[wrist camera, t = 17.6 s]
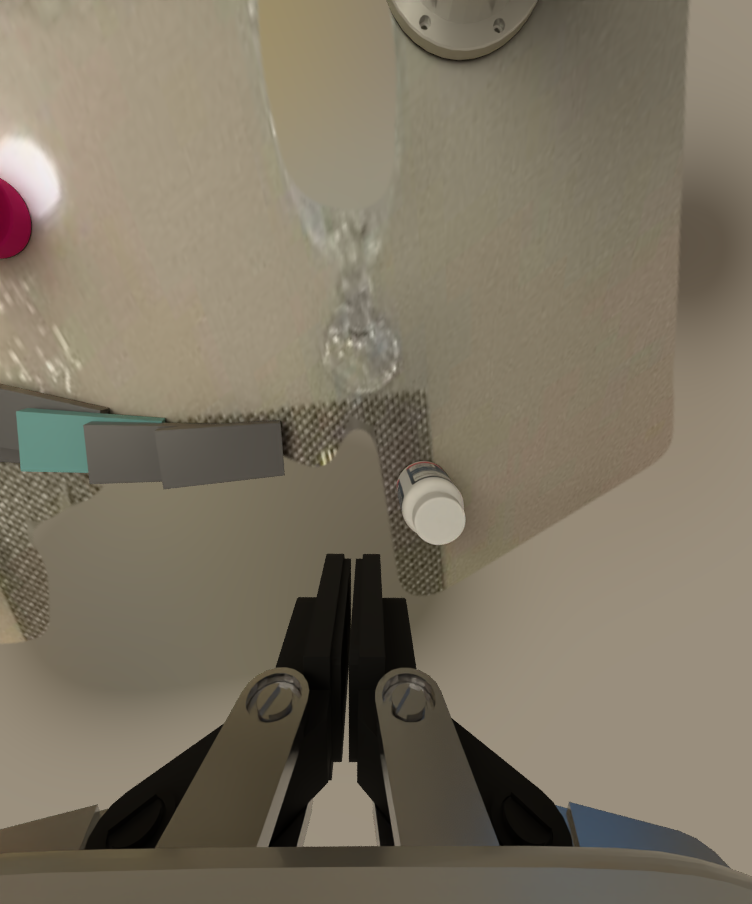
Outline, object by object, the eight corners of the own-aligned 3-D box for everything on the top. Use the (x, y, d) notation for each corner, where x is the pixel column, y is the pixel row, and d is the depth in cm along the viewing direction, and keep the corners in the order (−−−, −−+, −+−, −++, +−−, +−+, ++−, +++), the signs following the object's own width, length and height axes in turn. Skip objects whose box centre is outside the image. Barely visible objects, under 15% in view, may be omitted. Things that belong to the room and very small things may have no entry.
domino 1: (100, 410, 31) (-46, 378, 28) (91, 463, 32) (-52, 437, 29) (109, 408, 33) (-28, 377, 30) (100, 458, 34) (-34, 433, 31)
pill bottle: (427, 518, 36) (446, 565, 28) (386, 492, 35) (391, 531, 27) (458, 478, 35) (487, 513, 27) (416, 449, 34) (432, 476, 26)
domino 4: (280, 422, 32) (153, 430, 28) (284, 475, 33) (163, 489, 30) (278, 420, 34) (158, 427, 30) (282, 470, 35) (167, 483, 31)
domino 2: (161, 421, 32) (15, 411, 28) (161, 474, 33) (20, 471, 29) (165, 418, 33) (28, 408, 29) (164, 468, 34) (32, 464, 31)
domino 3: (219, 427, 32) (83, 424, 28) (220, 479, 33) (89, 484, 29) (220, 423, 34) (91, 421, 30) (221, 473, 35) (97, 477, 31)
